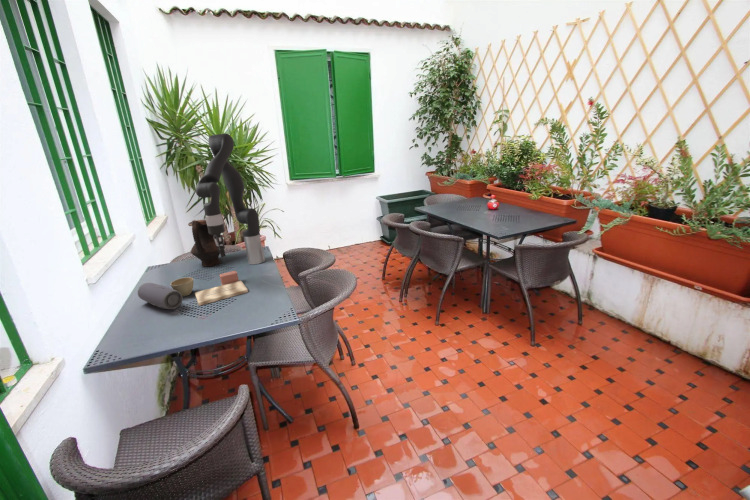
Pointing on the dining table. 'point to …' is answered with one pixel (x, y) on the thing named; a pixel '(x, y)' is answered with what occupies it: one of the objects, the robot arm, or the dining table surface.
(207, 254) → the jug
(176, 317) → the dining table surface
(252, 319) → the dining table surface
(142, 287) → the bluetooth speaker
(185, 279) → the flower pot
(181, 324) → the dining table surface
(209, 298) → the board
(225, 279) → the block
